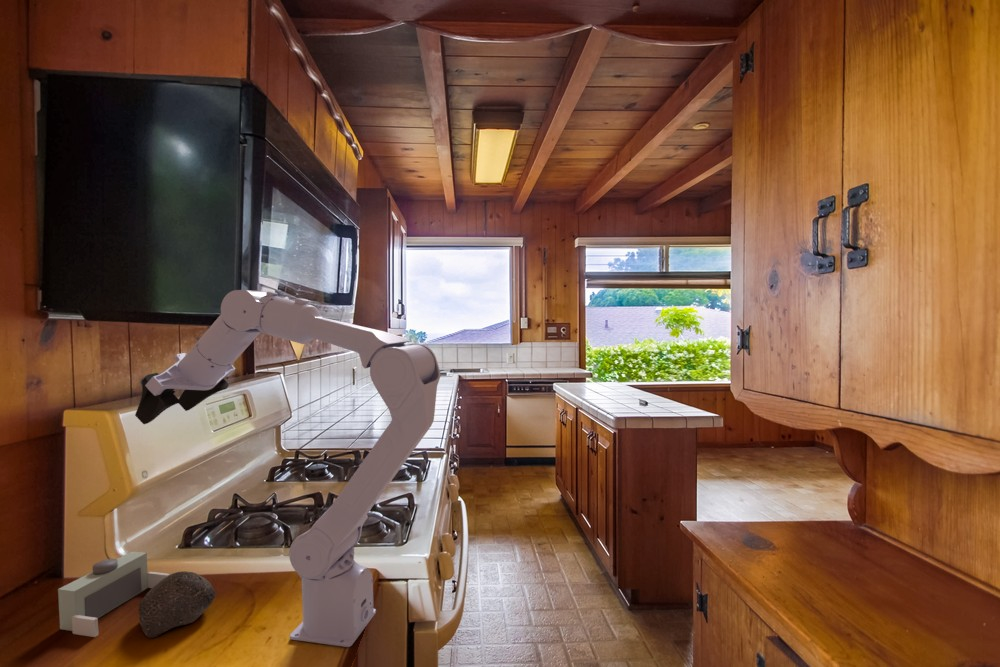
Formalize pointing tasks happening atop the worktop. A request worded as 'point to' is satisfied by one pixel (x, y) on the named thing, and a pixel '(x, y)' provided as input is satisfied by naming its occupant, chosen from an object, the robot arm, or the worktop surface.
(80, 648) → the worktop surface
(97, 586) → the digital alarm clock
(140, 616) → the stone
